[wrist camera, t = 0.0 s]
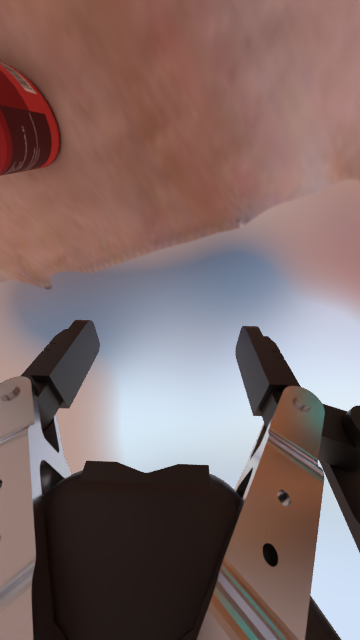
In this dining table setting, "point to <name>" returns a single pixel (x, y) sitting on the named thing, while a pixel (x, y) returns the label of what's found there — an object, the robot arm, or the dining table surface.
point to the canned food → (24, 125)
